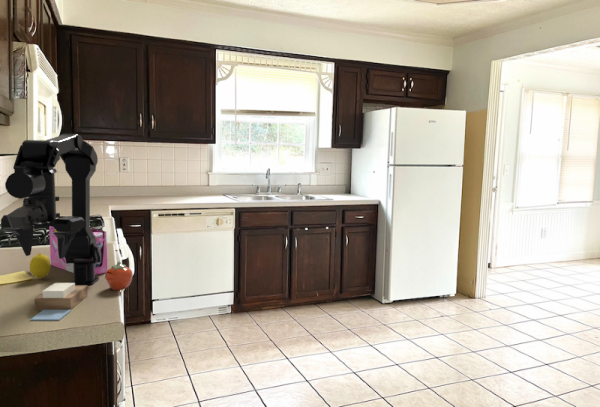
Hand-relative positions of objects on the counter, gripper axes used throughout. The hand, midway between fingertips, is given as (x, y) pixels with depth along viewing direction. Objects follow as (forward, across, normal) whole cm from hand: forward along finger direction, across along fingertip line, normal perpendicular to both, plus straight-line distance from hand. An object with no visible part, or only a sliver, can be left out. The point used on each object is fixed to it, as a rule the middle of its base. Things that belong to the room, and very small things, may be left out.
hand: (44, 256), depth 111 cm
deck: (+14, 0, +6) cm, 15 cm away
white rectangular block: (+11, 0, +4) cm, 12 cm away
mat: (+14, +3, -3) cm, 14 cm away
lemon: (+14, -21, +23) cm, 34 cm away
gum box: (+15, -18, +37) cm, 44 cm away
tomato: (+14, +6, +21) cm, 26 cm away
